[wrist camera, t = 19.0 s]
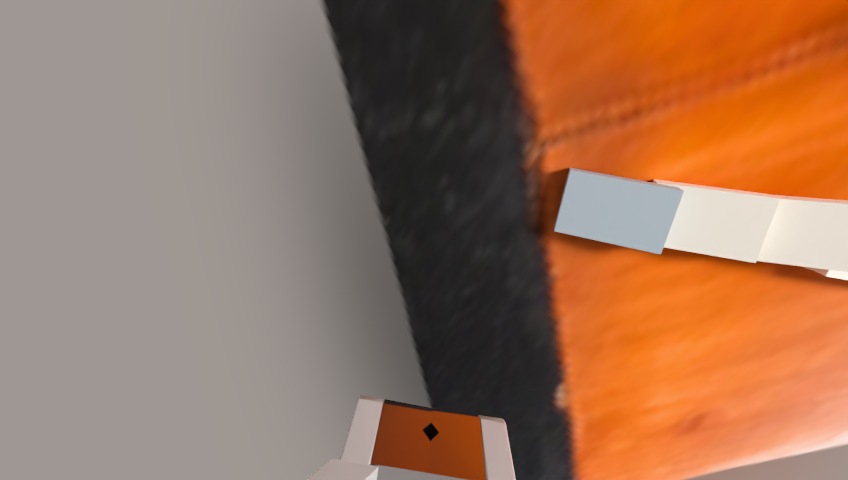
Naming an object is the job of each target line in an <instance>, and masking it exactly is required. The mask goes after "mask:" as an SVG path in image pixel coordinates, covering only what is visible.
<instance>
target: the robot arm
mask: <svg viewBox="0 0 848 480" xmlns="http://www.w3.org/2000/svg"><path fill="white" fill-rule="evenodd" d="M306 480H516V479H515V473H514V468H513V462H512V456H511V451H510V445H509V439H508V434H507V428H506V423H505V421H504V420H503V419H501V418H494V417H487V416H481V415H479V416H477V415H471V414H465V413H458V412H452V411H446V410H439V409H433V408H428V407H422V406H417V405H411V404H407V403H401V402H396V401H390V400H385V401H384V400H383V399H378V398H373V397H367V396H362V395H360V397H359V399H358V401H357V404H356V407H355V411H354V414H353V417H352V420H351V424H350V427H349V430H348V434H347V437H346V440H345V444H344V447H343V450H342V454H341V457H340V460H337V459H331V460H330V461H328V462H327V463H326V464H325V465H323V466H322V467H321V468H320V469H318V470H317V471H316V472H315V473H313V474H312V475H311V476H310V477H308V478H307V479H306Z"/></svg>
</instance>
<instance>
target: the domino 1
mask: <svg viewBox="0 0 848 480" xmlns="http://www.w3.org/2000/svg"><path fill="white" fill-rule="evenodd" d="M683 192H684V191H683V190H682V189H680V188H678V187H674V186H668V185H663V184H657V183H652V182H646V181H641V180H635V179H630V178H624V177H619V176H613V175H608V174H602V173H597V172H591V171H586V170H580V169H575V168H569V172H568V176H567V179H566V183H565V187H564V191H563V195H562V198H561V202H560V206H559V210H558V213H557V217H556V221H555V225H554V231H555V232H560V233H564V234H569V235H573V236H578V237H583V238H587V239H592V240H596V241H601V242H605V243H610V244H615V245H619V246H624V247H628V248H633V249H638V250H642V251H647V252H651V253H656V254H661V253H662V250H663V247H664V245H665V242H666V239H667V236H668V234H669V231H670V228H671V225H672V223H673V220H674V217H675V214H676V212H677V209H678V206H679V203H680V201H681V198H682V195H683Z"/></svg>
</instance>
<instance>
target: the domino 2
mask: <svg viewBox="0 0 848 480" xmlns="http://www.w3.org/2000/svg"><path fill="white" fill-rule="evenodd" d="M652 183H657V184H663V185H668V186H674V187H678V188H680V189H682V190H683V191H684V192H683V195H682V198H681V201H680V203H679V206H678V209H677V212H676V214H675V217H674V220H673V223H672V225H671V228H670V231H669V234H668V236H667V239H666V242H665V245H664V248H670V249H676V250H682V251H688V252H693V253H699V254H705V255H711V256H717V257H723V258H728V259H734V260H740V261H746V262H752V263H756V261H757V259H758V256H759V253H760V251H761V248H762V245H763V243H764V240H765V238H766V235H767V232H768V230H769V227H770V224H771V222H772V219H773V216H774V214H775V211H776V208H777V206H778V203H779V201H780V198H778V197H776V196H773V195H771V194H764V193H757V192H749V191H741V190H734V189H726V188H718V187H710V186H703V185H695V184H687V183H680V182H672V181H664V180H657V179H653V182H652Z"/></svg>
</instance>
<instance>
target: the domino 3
mask: <svg viewBox="0 0 848 480" xmlns="http://www.w3.org/2000/svg"><path fill="white" fill-rule="evenodd" d="M773 196H776V197H778V198H780V201H779V203H778V206H777V208H776V211H775V214H774V216H773V219H772V222H771V224H770V227H769V230H768V232H767V235H766V238H765V240H764V243H763V245H762V248H761V251H760V253H759V256H758V259H757V261H762V262H770V263H778V264H786V265H794V266H802V267H810V268H819V269H827V270H835V271H843V272H848V201H847V200H834V199H821V198H808V197H795V196H782V195H773Z"/></svg>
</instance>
